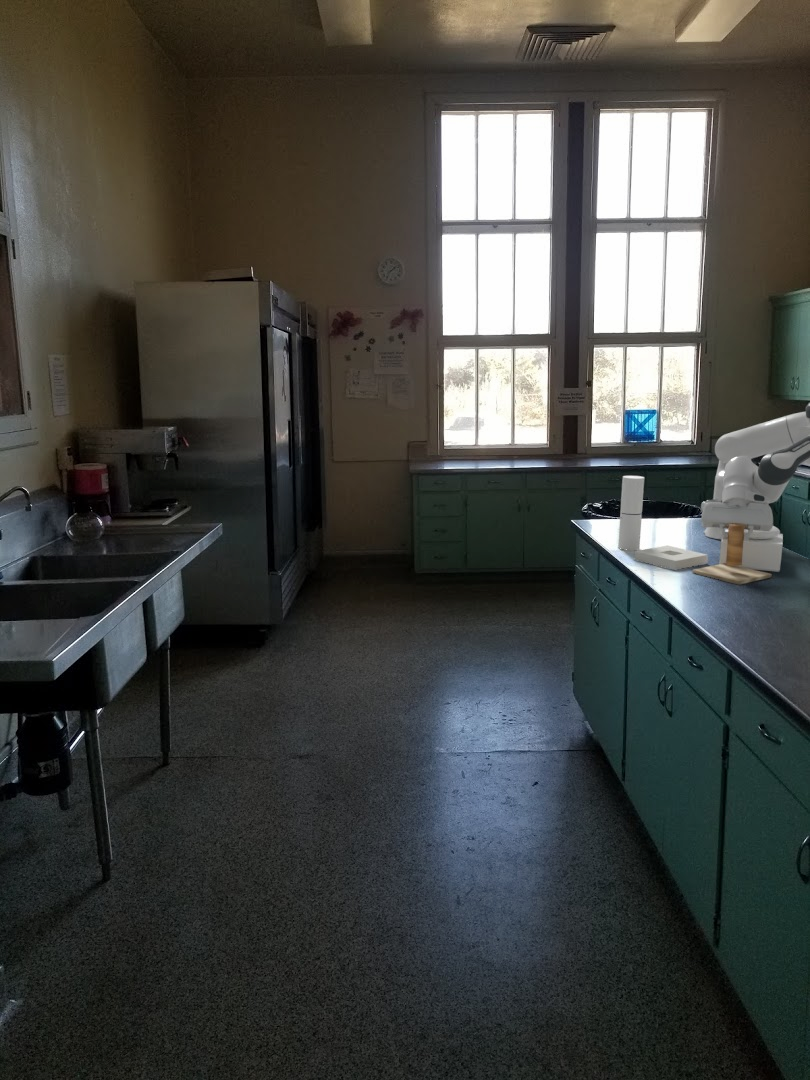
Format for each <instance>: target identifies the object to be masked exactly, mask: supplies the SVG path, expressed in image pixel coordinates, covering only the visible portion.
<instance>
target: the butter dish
mask: <svg viewBox="0 0 810 1080" xmlns="http://www.w3.org/2000/svg"><path fill="white" fill-rule="evenodd" d="M725 532H728V529H726V530H725ZM747 532H748V530H744V533H747ZM783 535H784V534H783V533H781V530H780V529H779V528H778V527H776V526H774V525H773V527H772V529H771V530H770V531H758V530H753V533H752V534H751V535H750V536H749V541H743V554H742V565H740V566H739V567H744V568H748V569H752V570H756V571H768V572H777V573H779V572H780V571H781V562H782V554H783V545H784V544H783V542H784V539H783V537H784V536H783ZM727 542H728V539H722V540H720V553H719V561H718V562H719V563H718V565H719V564H724V563H726V556H727Z"/></svg>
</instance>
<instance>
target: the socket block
mask: <svg viewBox="0 0 810 1080" xmlns="http://www.w3.org/2000/svg"><path fill="white" fill-rule="evenodd" d="M708 558H709V554H707V553H701V552H698V551H694V550H689V549H684V548H680V547H676V546H671V545H663V546H657V547H652V548H650V547H649V548H645V549H639V550H635V551H634V561H636V560H638V561H637V562H640V561H641V563H644V562H645V564H648V563H649V565H652V564H654V565H653V566H656V565H657V567H660V566H662V567H661V568H664V567H666V568H665V569H668V568H670V569H669V570H671V569H673V570H672V571H677V570H676V569H679V570H682V569H681V568H684V569H687V568H686V567H689V568H693V567H692V566H694V567H698V565H699V566H703V565H708V562H709V561H708Z"/></svg>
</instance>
